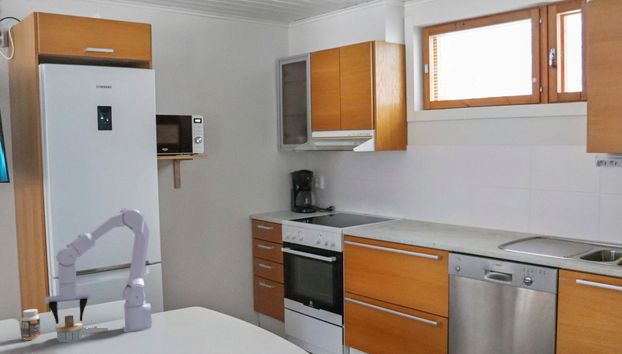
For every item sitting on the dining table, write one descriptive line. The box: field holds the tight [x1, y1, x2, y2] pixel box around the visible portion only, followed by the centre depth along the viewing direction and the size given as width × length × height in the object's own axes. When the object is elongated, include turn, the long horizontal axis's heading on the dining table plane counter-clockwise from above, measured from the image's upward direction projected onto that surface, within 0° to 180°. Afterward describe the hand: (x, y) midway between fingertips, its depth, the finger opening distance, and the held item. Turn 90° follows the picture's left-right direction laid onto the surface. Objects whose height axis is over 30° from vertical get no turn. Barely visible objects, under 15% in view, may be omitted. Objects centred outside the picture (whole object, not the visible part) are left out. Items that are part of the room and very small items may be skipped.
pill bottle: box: [21, 308, 41, 341], centre depth 212 cm, size 6×6×10 cm
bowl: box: [56, 329, 83, 343], centre depth 209 cm, size 8×8×4 cm
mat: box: [82, 326, 109, 336], centre depth 219 cm, size 10×10×1 cm
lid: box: [54, 314, 84, 333], centre depth 209 cm, size 9×9×4 cm
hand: (69, 321), depth 209 cm, fingers open, 7 cm apart
